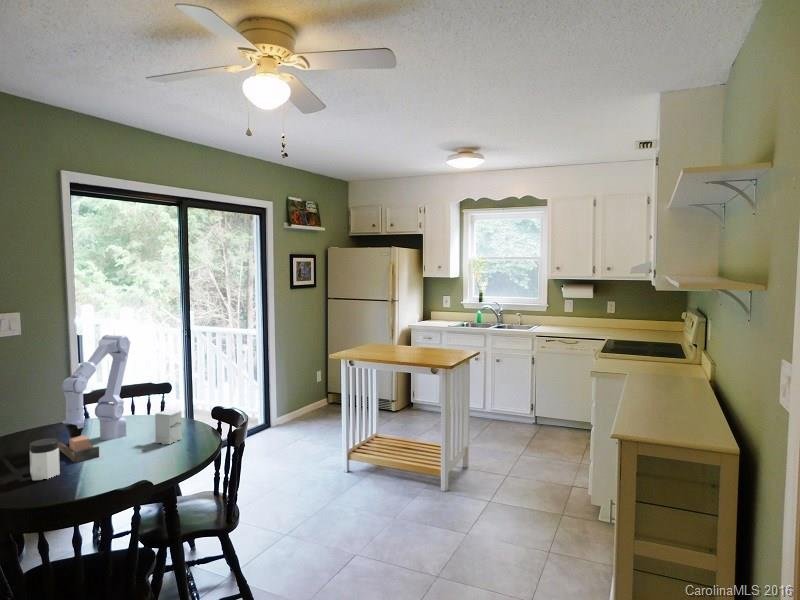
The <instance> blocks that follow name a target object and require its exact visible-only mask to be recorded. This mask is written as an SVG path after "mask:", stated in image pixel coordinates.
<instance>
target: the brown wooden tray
mask: <svg viewBox="0 0 800 600" xmlns="http://www.w3.org/2000/svg"><path fill="white" fill-rule="evenodd" d="M58 448H59V452H61V453H62V454H64V455H65V456H66V457H68V458H69V460H71V461H72V462H74V464H76V463H80V462H84V461H89V460H93V459H97V458H100V446H93V445H91V444H90V443H89V448H88V449H83V450H79V451H72V450H71V449H70V448H69V446H67V445H66V444H65V443H63V442H62V441H58ZM100 460H102V459H99V461H100ZM95 461H98V460H95ZM74 466H77V465H74Z"/></svg>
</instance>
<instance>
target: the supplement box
mask: <svg viewBox="0 0 800 600" xmlns="http://www.w3.org/2000/svg"><path fill="white" fill-rule="evenodd" d="M154 414H155V415H154V417H155V420H154V421H155V423H154V424H155V429H154V430H155V444H158V443H163V444H162V445H165V444H170V445H172V444H174V443H173V442H175V441H177V440H179V439H182V435H183V433H182V410H177V409H166V410H162V411H160V412H157V413H154ZM182 440H183V439H182ZM177 442H178V441H177ZM171 443H172V444H171ZM175 443H176V442H175Z"/></svg>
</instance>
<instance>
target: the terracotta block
mask: <svg viewBox="0 0 800 600" xmlns="http://www.w3.org/2000/svg"><path fill="white" fill-rule="evenodd" d="M68 439H69V442H68V443H69V445H68V448H70V449H71V450H72V451H79V450H83V449H88V448H89V444H90V438H89V437H88V436H86V435H84V434H83V435H82V434H81V436H78V437H73V438H71V437H69V438H68Z"/></svg>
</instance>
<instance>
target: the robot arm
mask: <svg viewBox="0 0 800 600" xmlns="http://www.w3.org/2000/svg"><path fill="white" fill-rule="evenodd" d="M130 346H131V341H130V339H129V337H128V336H127V335H111V334H110V335H109V334H105V335H103V336H101V339H99V340H98V346H97V348H96V349H95V351H94V352H93V354H91V356H90V357H89V359H88V360H87V361H85V362H84V361H83V362H82V363H79V366H78V368H76V370H75V371H74V372H73V373H72V374H71V375H70V377H67V378H65V379H64V380H63V381H62V384H61V385H60V387H61V390H62V391H63V396H64V397H65V420H63V421H62V424H65V428H66V429H67V432H68V434H69V436H70V437H69V438H73V437H78V436H82V433H83V430H84V428H85V426H86V424H85V417H84V414H85V413H84V391H85V390H86V389H87V385H88V383H89V380H90V379H91V378H92V376H93V375H94V374H95V372H96V371H97V366H98V365H99V363H100V362H101V361H102V360H103V359H104V358H105V357H106V356H107V355H110V357H112V362H111V365H110V366H111V367H110V370H109V376H108V380H107V383H106V389H105V392H104V395H103V396H101V397H100V398H99V399H98V401H97V404H96V406H95V408H94V415H95V417H97V420H99V439H100V440H101V441H110V440H111V441H113V440H116V439H119V438H123V437H127V421H126V418H125V416H123V415H124V410H125V408H124V403H125V401H124V400H123V398H121V397H120V395H121V394H120V393H121V389H122V384H123V381H124V376H125V372H126V366H127V362H128V357H129V352H130ZM66 424H67V425H66Z"/></svg>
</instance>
